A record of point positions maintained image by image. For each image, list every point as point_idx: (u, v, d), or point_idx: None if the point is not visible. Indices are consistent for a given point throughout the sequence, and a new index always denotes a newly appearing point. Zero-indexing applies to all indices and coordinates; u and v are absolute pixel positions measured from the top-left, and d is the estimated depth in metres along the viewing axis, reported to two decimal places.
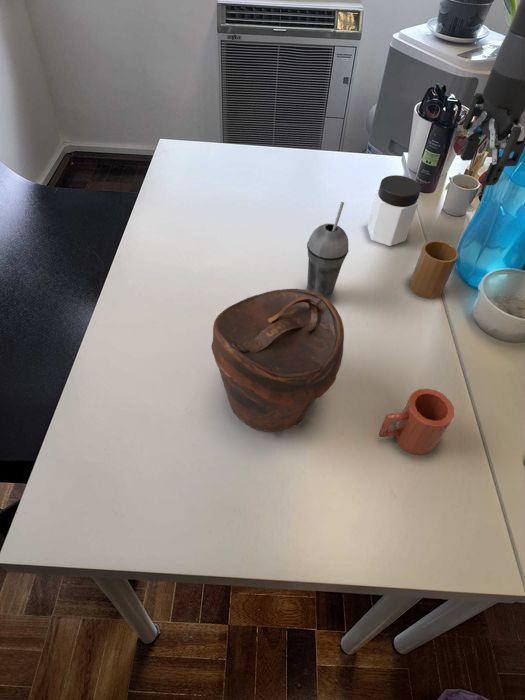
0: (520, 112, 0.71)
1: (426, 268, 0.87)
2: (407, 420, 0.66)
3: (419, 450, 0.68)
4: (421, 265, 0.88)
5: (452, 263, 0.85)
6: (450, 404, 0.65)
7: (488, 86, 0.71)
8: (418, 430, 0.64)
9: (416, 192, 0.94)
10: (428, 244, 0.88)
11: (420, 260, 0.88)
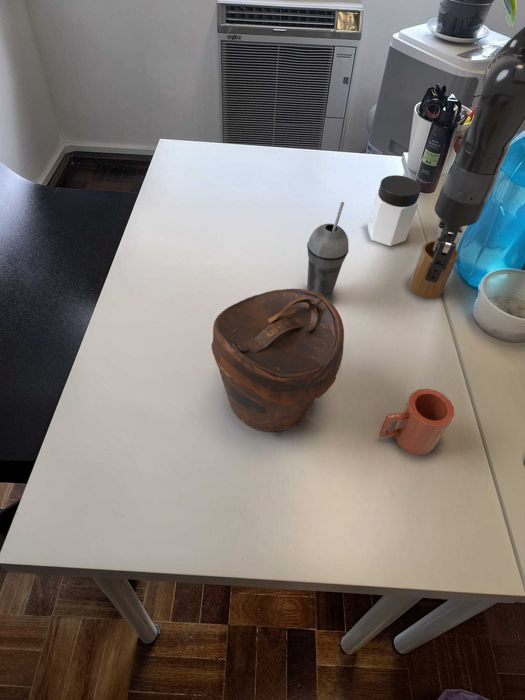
0: (456, 227, 0.78)
1: (426, 268, 0.87)
2: (407, 420, 0.66)
3: (419, 450, 0.68)
4: (421, 265, 0.88)
5: (452, 263, 0.85)
6: (450, 404, 0.65)
7: (438, 197, 0.80)
8: (418, 430, 0.64)
9: (416, 192, 0.94)
10: (428, 244, 0.88)
11: (420, 260, 0.88)
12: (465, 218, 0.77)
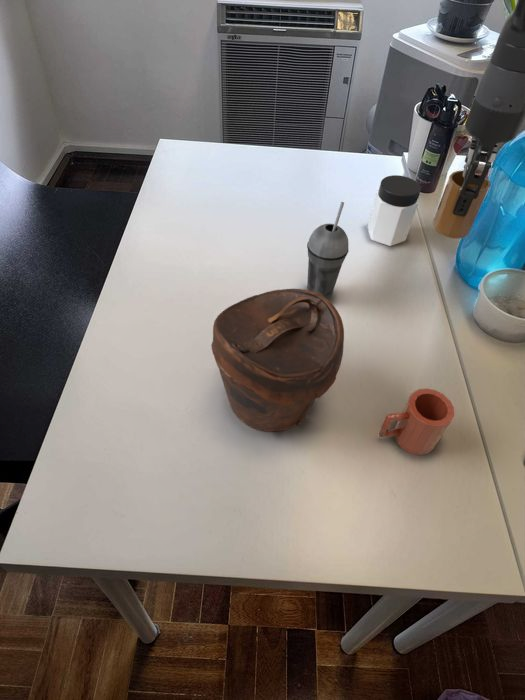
0: (490, 144, 0.68)
1: (453, 200, 0.76)
2: (407, 420, 0.66)
3: (419, 450, 0.68)
4: (447, 197, 0.77)
5: (483, 193, 0.75)
6: (450, 404, 0.65)
7: (469, 112, 0.70)
8: (418, 430, 0.64)
9: (416, 192, 0.94)
10: (455, 174, 0.78)
11: (446, 192, 0.77)
12: (502, 132, 0.66)
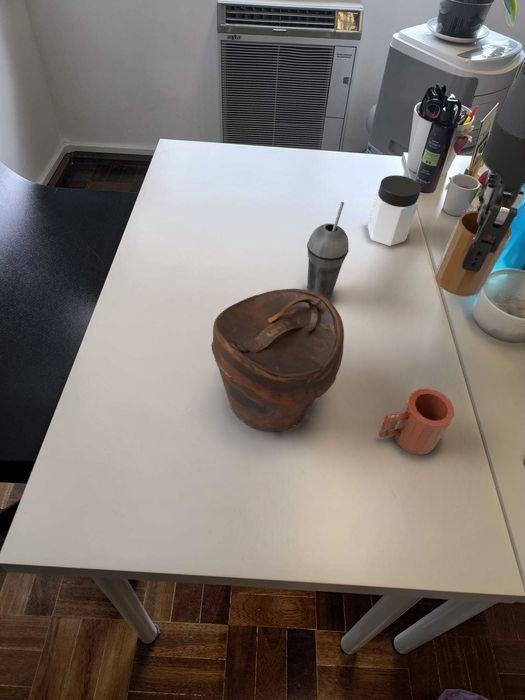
0: (517, 183, 0.50)
1: (463, 251, 0.59)
2: (407, 420, 0.66)
3: (419, 450, 0.68)
4: (454, 246, 0.60)
5: (503, 243, 0.57)
6: (450, 404, 0.65)
7: (488, 139, 0.52)
8: (418, 430, 0.64)
9: (416, 192, 0.94)
10: (466, 216, 0.60)
11: (454, 239, 0.60)
12: None
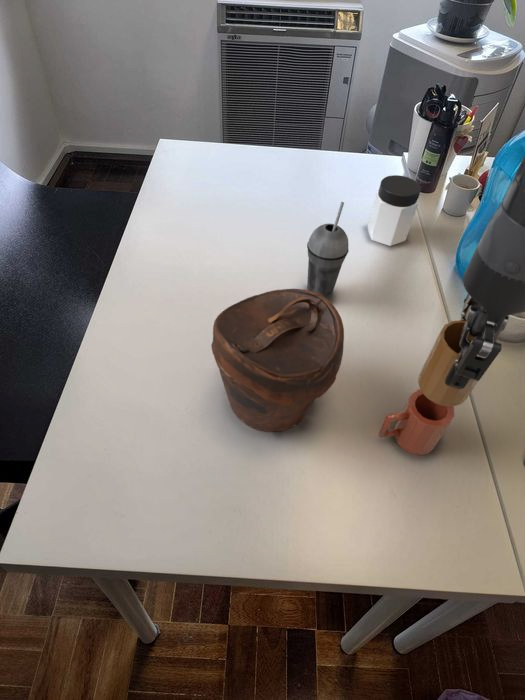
0: (500, 315, 0.46)
1: (446, 367, 0.55)
2: (407, 420, 0.66)
3: (419, 450, 0.68)
4: (437, 360, 0.56)
5: None
6: None
7: (469, 263, 0.48)
8: (418, 430, 0.64)
9: (416, 192, 0.94)
10: (448, 327, 0.56)
11: (436, 352, 0.56)
12: (518, 303, 0.45)
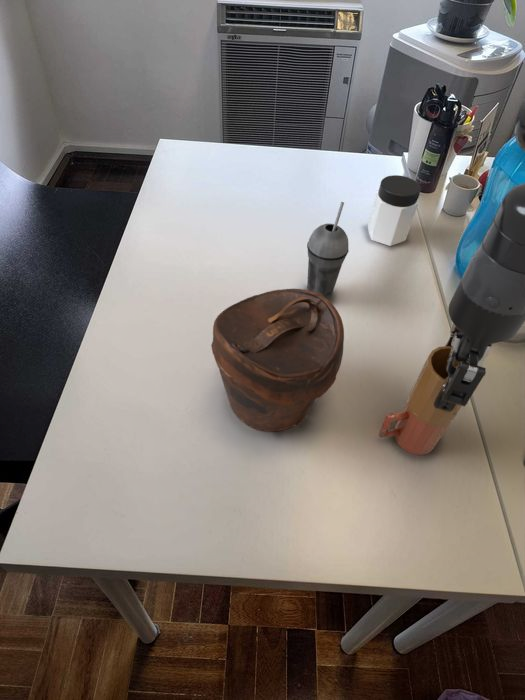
0: (483, 344, 0.49)
1: (433, 391, 0.58)
2: (407, 420, 0.66)
3: (419, 450, 0.68)
4: (424, 384, 0.59)
5: None
6: None
7: (454, 294, 0.51)
8: (418, 430, 0.64)
9: (416, 192, 0.94)
10: (435, 352, 0.60)
11: (424, 377, 0.59)
12: (499, 333, 0.48)
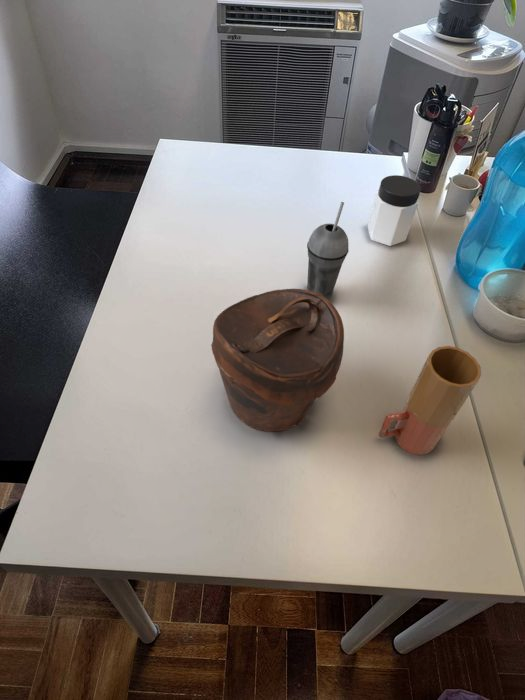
0: None
1: (433, 391, 0.58)
2: (407, 420, 0.66)
3: (419, 450, 0.68)
4: (424, 384, 0.59)
5: (472, 386, 0.57)
6: None
7: None
8: (418, 430, 0.64)
9: (416, 192, 0.94)
10: (435, 352, 0.60)
11: (424, 377, 0.59)
12: None
